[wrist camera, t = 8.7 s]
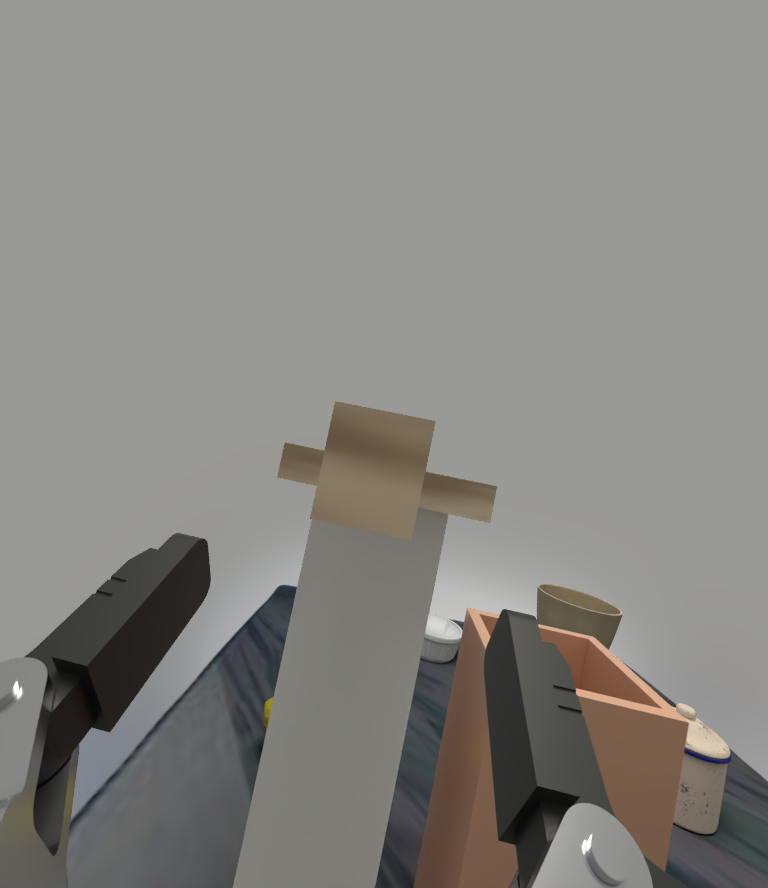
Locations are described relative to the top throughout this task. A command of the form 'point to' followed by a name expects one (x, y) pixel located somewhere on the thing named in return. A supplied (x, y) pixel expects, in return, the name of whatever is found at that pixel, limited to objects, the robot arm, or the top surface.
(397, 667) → the pedestal
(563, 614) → the plant pot
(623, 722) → the tall open box
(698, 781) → the teacup with lid
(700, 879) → the top surface
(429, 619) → the ramekin
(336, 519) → the tan t-shaped block
